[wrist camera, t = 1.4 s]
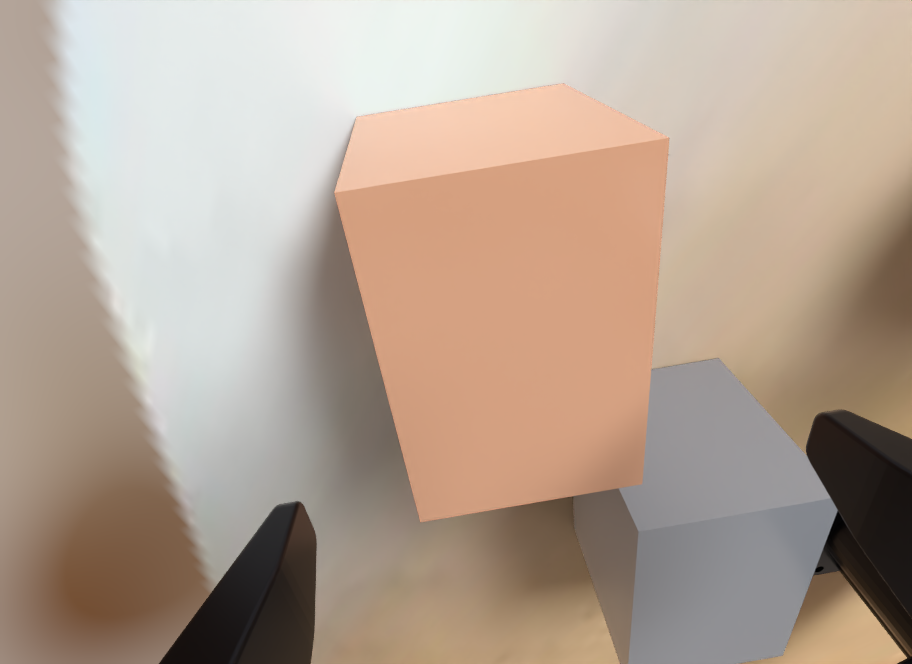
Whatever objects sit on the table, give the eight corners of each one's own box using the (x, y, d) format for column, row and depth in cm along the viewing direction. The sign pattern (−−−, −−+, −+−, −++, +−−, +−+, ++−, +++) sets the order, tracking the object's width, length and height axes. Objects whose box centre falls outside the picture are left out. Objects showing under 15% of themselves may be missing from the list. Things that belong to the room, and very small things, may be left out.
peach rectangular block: (569, 341, 20) (642, 484, 14) (412, 368, 20) (420, 522, 14) (563, 83, 15) (669, 137, 10) (356, 116, 15) (334, 193, 9)
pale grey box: (694, 507, 26) (782, 655, 20) (574, 527, 26) (626, 683, 20) (718, 358, 21) (843, 496, 16) (570, 383, 21) (638, 531, 15)
